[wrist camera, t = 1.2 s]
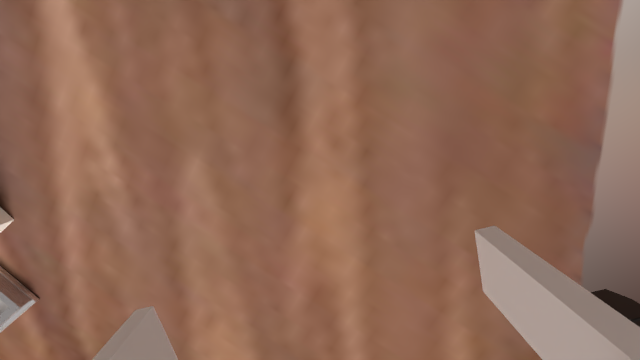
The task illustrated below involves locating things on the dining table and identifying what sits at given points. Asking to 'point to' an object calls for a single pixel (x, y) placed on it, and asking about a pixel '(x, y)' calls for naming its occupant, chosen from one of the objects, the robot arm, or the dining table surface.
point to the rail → (13, 299)
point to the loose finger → (4, 219)
